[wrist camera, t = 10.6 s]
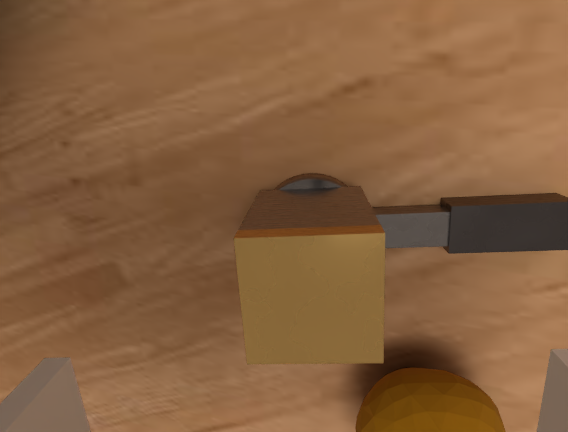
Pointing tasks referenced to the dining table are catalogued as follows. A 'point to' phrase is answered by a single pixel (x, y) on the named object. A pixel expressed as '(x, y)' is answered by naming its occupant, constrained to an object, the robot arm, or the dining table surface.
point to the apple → (427, 404)
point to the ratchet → (467, 221)
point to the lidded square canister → (312, 277)
